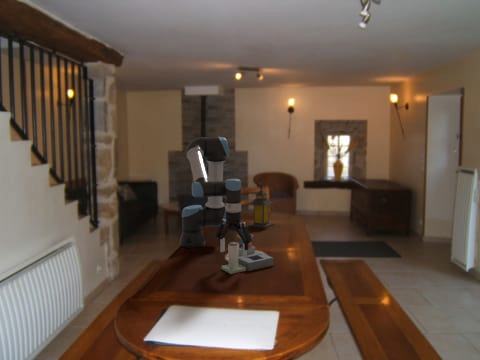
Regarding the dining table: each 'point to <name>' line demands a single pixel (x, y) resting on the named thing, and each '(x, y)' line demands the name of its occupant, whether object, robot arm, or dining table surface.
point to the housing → (254, 259)
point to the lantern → (261, 210)
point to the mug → (242, 241)
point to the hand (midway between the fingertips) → (233, 254)
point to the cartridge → (233, 256)
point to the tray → (225, 268)
